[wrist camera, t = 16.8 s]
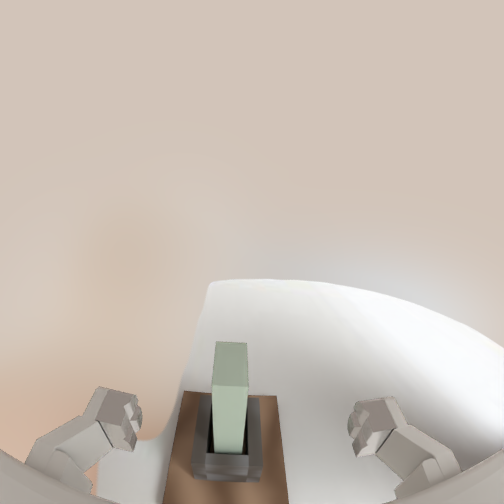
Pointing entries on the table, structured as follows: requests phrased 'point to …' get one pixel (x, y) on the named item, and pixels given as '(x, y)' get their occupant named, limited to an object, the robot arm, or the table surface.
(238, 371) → the pale green block
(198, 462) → the wooden base with socket
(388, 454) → the robot arm
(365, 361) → the table surface
